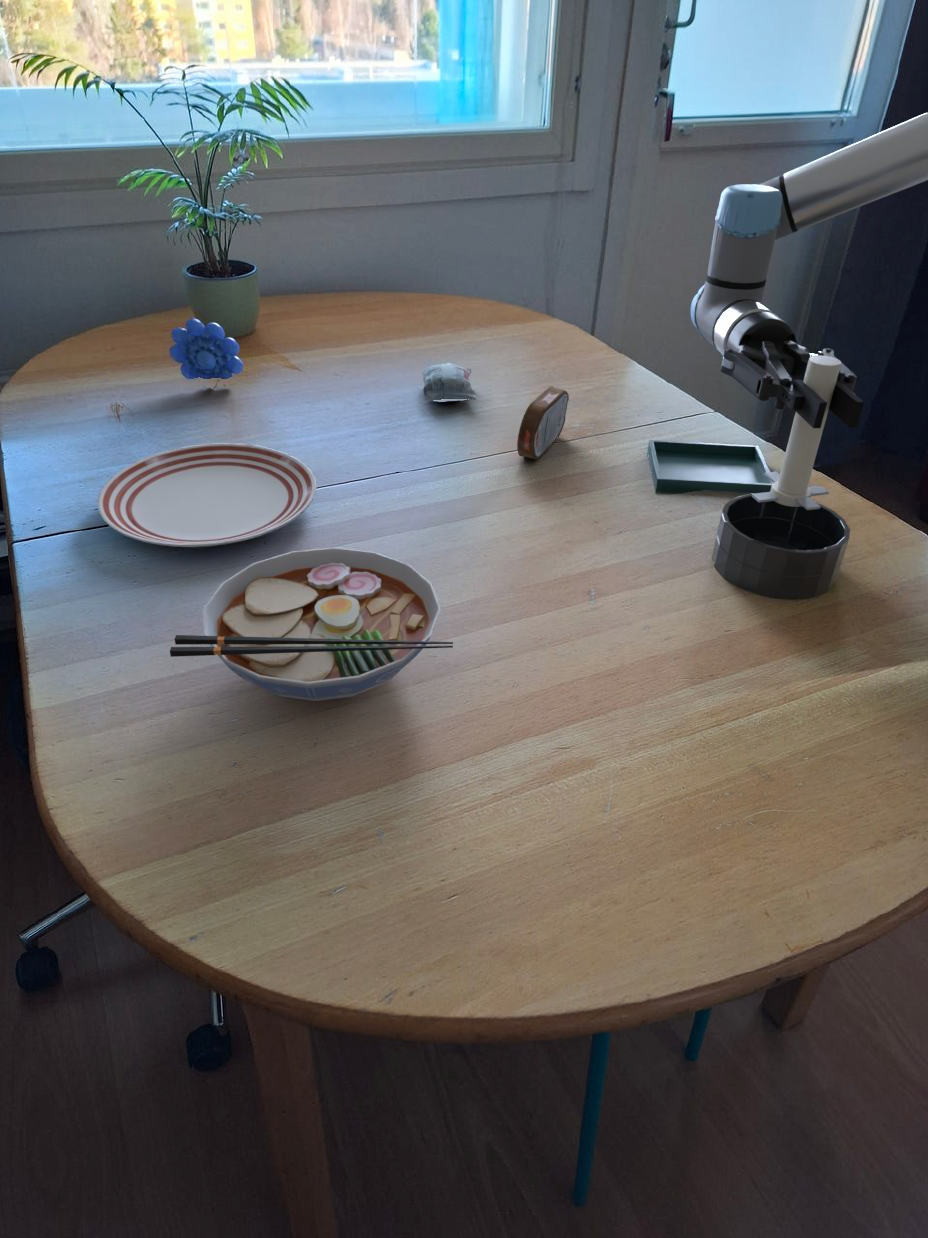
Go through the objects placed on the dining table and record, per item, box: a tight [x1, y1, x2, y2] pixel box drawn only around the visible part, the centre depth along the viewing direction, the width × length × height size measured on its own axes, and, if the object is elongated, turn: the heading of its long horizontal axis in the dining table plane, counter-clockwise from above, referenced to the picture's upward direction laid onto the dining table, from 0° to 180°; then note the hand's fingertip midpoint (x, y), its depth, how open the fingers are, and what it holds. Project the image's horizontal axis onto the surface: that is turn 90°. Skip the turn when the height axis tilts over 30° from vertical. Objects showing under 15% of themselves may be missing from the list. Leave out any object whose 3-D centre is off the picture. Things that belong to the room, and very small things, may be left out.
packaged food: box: [422, 362, 478, 403], centre depth 148 cm, size 9×12×5 cm
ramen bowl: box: [169, 546, 454, 702], centre depth 86 cm, size 25×23×8 cm
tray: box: [647, 439, 773, 495], centre depth 126 cm, size 16×13×2 cm
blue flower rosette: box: [168, 317, 244, 380], centre depth 145 cm, size 12×7×12 cm, turn 102°
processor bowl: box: [711, 493, 851, 601], centre depth 103 cm, size 14×14×7 cm
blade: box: [751, 355, 842, 510], centre depth 95 cm, size 9×9×16 cm
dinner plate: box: [97, 442, 318, 548], centre depth 114 cm, size 27×27×3 cm
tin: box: [516, 385, 570, 460], centre depth 130 cm, size 15×3×8 cm, turn 155°
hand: (838, 415), depth 89 cm, fingers closed on blade, 3 cm apart
